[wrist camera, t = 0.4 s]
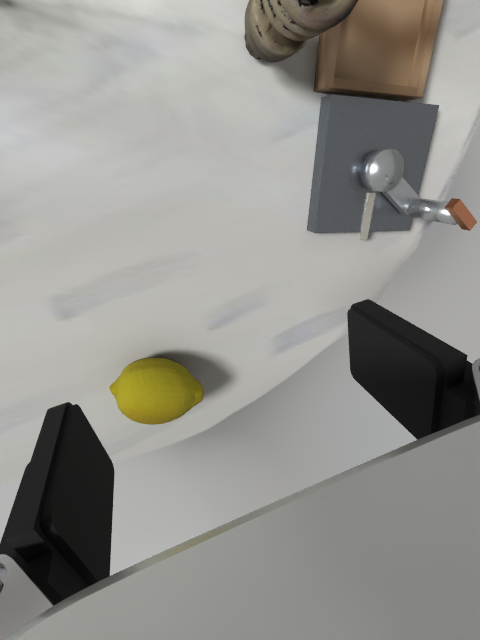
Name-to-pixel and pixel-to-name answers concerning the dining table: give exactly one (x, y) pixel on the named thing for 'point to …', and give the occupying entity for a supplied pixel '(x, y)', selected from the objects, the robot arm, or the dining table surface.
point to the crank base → (349, 154)
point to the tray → (379, 50)
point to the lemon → (156, 391)
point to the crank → (409, 191)
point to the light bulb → (289, 24)
